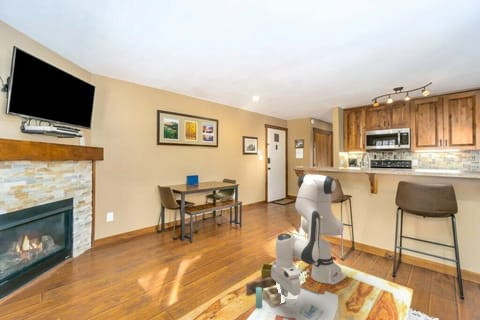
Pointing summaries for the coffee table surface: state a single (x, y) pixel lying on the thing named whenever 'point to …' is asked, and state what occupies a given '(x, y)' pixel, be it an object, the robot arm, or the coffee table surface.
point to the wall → (259, 285)
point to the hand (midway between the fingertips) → (284, 295)
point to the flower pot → (266, 270)
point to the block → (272, 296)
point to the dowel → (259, 297)
